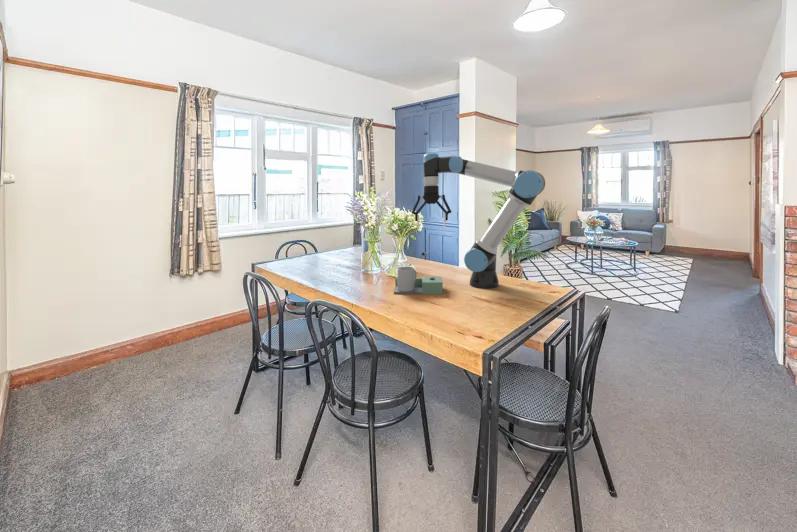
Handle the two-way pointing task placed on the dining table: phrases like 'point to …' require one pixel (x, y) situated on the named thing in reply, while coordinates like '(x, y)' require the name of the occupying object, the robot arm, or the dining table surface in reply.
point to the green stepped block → (424, 286)
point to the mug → (406, 279)
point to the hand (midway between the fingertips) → (431, 227)
